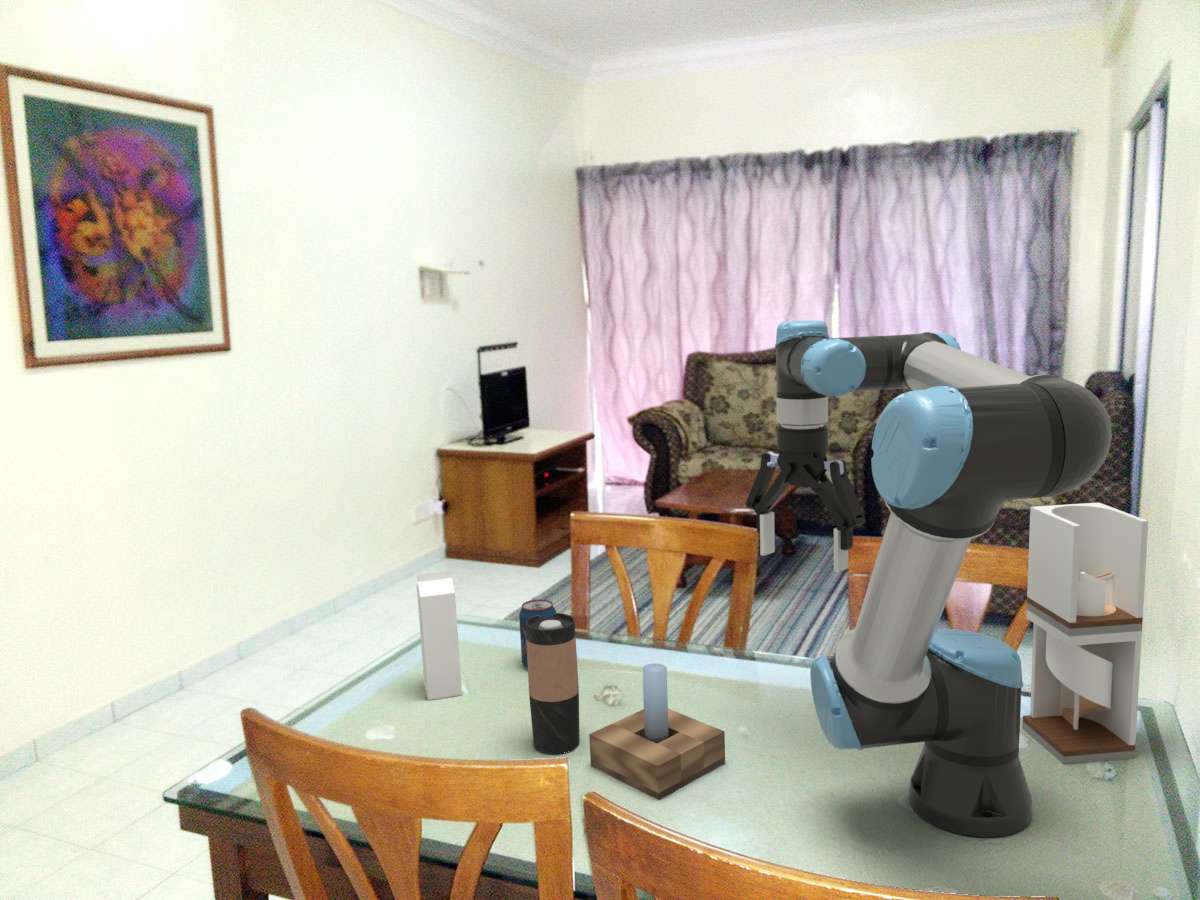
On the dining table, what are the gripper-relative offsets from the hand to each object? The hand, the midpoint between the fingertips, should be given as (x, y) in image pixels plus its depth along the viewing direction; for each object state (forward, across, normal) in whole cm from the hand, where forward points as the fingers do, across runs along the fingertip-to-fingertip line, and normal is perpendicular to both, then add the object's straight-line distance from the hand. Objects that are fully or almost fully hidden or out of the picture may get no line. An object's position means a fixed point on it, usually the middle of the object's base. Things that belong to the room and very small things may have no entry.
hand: (803, 561), depth 150 cm
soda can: (+27, +50, +13) cm, 58 cm away
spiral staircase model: (+27, -33, -22) cm, 48 cm away
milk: (+27, +54, +32) cm, 68 cm away
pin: (+26, +8, +25) cm, 37 cm away
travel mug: (+27, +24, +31) cm, 48 cm away
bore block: (+27, +8, +25) cm, 37 cm away
